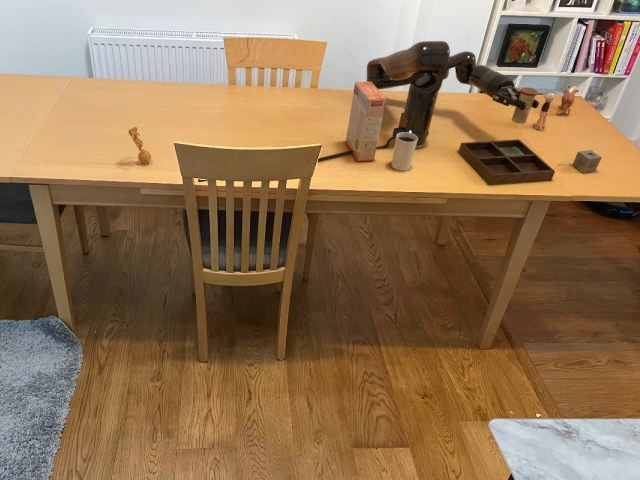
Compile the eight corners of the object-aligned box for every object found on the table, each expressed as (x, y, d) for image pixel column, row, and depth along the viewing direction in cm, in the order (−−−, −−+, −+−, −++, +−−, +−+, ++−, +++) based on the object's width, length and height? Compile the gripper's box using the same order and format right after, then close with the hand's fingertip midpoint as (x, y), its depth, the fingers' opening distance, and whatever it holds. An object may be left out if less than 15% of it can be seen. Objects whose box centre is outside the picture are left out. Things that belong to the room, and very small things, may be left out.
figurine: (151, 169, 179) (148, 132, 171) (131, 169, 178) (127, 133, 170) (151, 156, 185) (148, 120, 177) (132, 156, 184) (128, 120, 177)
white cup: (395, 158, 190) (401, 130, 184) (414, 165, 187) (421, 136, 181) (386, 166, 186) (392, 137, 179) (405, 173, 183) (412, 144, 177)
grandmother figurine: (545, 132, 210) (559, 97, 201) (534, 130, 210) (547, 96, 202) (542, 122, 215) (555, 89, 207) (531, 121, 216) (544, 88, 207)
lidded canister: (515, 124, 186) (526, 94, 180) (507, 117, 190) (518, 87, 183) (529, 123, 187) (541, 93, 180) (521, 117, 191) (532, 87, 184)
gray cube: (595, 171, 189) (601, 157, 186) (582, 173, 188) (588, 159, 185) (584, 163, 193) (590, 149, 189) (572, 165, 191) (578, 151, 188)
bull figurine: (572, 106, 228) (581, 85, 223) (566, 118, 219) (574, 97, 214) (561, 103, 230) (569, 82, 224) (554, 115, 221) (562, 94, 216)
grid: (489, 185, 180) (492, 175, 178) (458, 151, 196) (460, 142, 193) (551, 180, 183) (555, 171, 181) (516, 148, 199) (519, 139, 197)
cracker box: (375, 161, 188) (387, 98, 175) (357, 162, 187) (367, 99, 174) (362, 141, 199) (372, 80, 185) (345, 141, 198) (354, 80, 184)
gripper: (509, 93, 199) (544, 115, 187) (474, 98, 195) (508, 120, 183) (516, 72, 194) (553, 92, 182) (481, 76, 190) (516, 97, 178)
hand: (530, 106), depth 183 cm, fingers closed on lidded canister, 4 cm apart
